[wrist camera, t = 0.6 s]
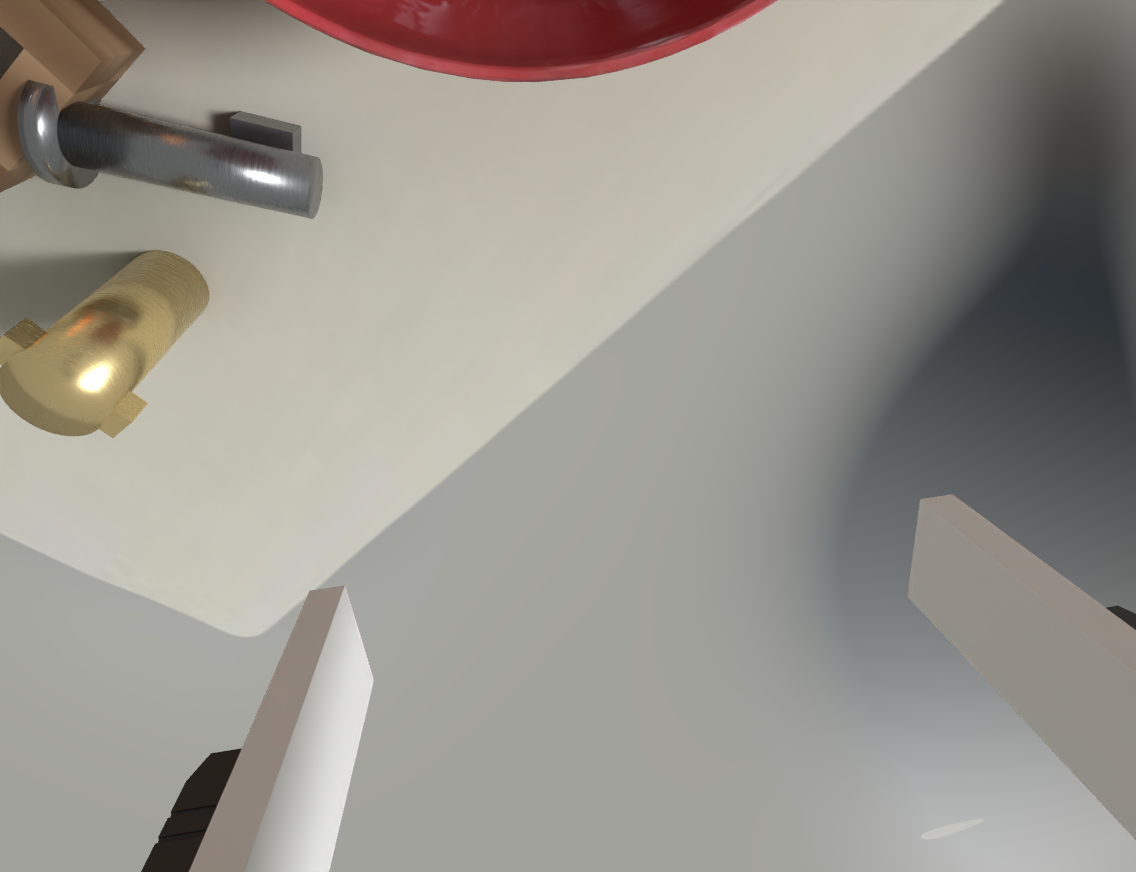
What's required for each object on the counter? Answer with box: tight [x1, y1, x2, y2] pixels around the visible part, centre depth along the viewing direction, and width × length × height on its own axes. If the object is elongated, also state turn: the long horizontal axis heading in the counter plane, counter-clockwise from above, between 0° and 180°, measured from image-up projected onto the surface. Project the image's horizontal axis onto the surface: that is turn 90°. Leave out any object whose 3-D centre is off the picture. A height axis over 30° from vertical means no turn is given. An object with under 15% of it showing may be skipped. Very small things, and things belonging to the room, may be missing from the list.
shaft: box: [17, 80, 323, 219], centre depth 32 cm, size 12×5×6 cm, turn 76°
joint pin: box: [0, 251, 209, 438], centre depth 34 cm, size 4×6×12 cm
